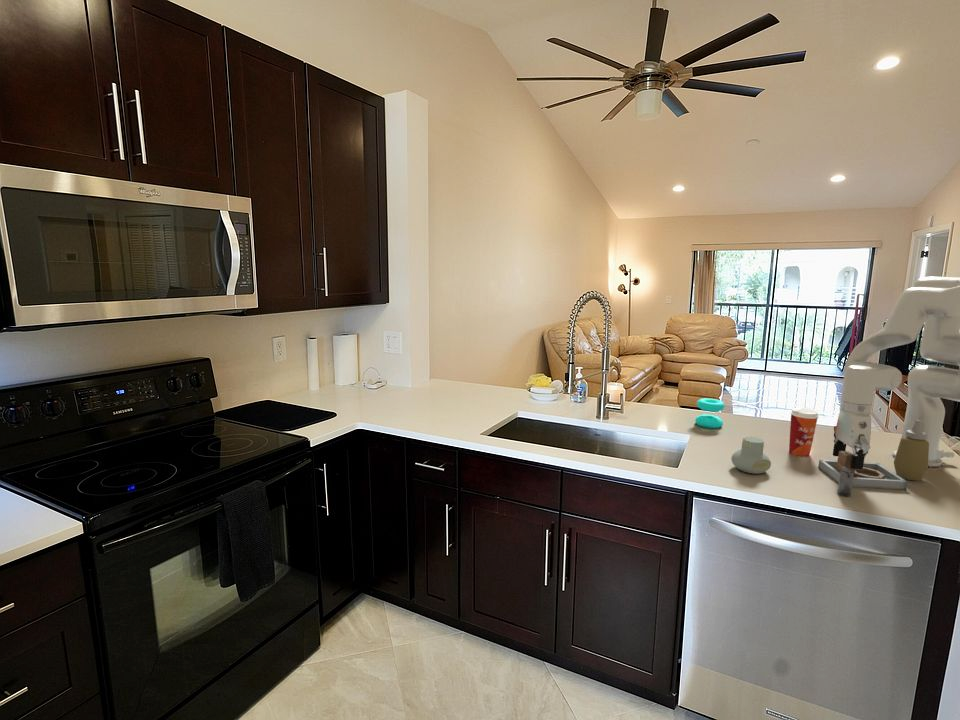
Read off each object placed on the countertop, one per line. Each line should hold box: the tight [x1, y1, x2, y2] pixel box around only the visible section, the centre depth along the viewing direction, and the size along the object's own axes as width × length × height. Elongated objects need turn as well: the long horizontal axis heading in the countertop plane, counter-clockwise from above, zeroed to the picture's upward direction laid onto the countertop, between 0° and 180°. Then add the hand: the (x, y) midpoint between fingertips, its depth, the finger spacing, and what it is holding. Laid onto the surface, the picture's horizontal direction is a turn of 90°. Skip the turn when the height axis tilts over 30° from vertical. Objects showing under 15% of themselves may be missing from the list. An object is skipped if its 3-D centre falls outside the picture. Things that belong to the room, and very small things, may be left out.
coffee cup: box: [788, 407, 820, 457], centre depth 175 cm, size 8×8×15 cm
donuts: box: [695, 397, 726, 429], centre depth 204 cm, size 10×10×10 cm
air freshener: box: [731, 436, 772, 475], centre depth 161 cm, size 11×8×10 cm
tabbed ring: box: [836, 450, 885, 479], centre depth 156 cm, size 12×8×7 cm
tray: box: [818, 459, 909, 491], centre depth 156 cm, size 17×14×2 cm
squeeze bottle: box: [893, 420, 929, 482], centre depth 156 cm, size 8×8×18 cm
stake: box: [836, 466, 854, 498], centre depth 145 cm, size 3×4×7 cm
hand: (847, 462), depth 156 cm, fingers open, 9 cm apart
